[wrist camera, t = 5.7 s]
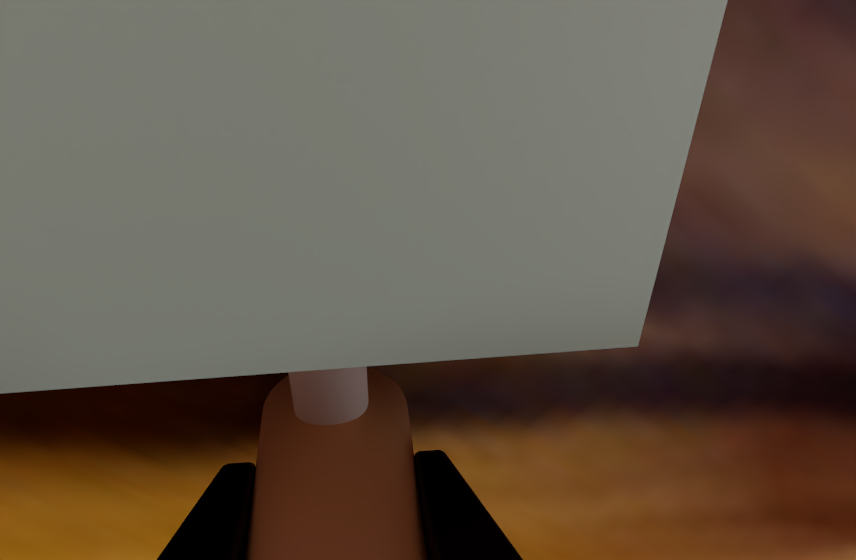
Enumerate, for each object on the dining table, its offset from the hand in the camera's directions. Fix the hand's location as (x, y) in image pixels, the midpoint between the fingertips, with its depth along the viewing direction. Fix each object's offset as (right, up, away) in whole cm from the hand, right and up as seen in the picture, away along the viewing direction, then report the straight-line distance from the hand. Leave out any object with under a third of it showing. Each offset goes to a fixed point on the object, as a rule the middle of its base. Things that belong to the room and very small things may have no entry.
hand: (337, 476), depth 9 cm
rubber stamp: (0, +4, -1) cm, 4 cm away
